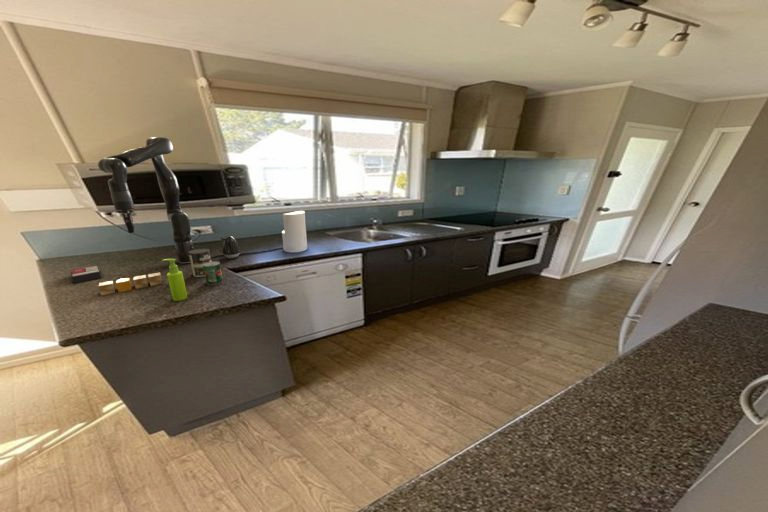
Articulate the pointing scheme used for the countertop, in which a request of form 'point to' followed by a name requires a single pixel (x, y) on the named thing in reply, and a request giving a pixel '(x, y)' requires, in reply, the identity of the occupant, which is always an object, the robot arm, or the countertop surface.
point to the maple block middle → (140, 281)
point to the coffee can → (199, 261)
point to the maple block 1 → (106, 288)
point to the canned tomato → (213, 273)
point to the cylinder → (294, 232)
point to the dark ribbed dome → (230, 247)
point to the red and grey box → (85, 274)
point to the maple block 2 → (155, 279)
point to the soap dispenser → (176, 282)
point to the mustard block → (123, 284)
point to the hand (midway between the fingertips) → (131, 231)
